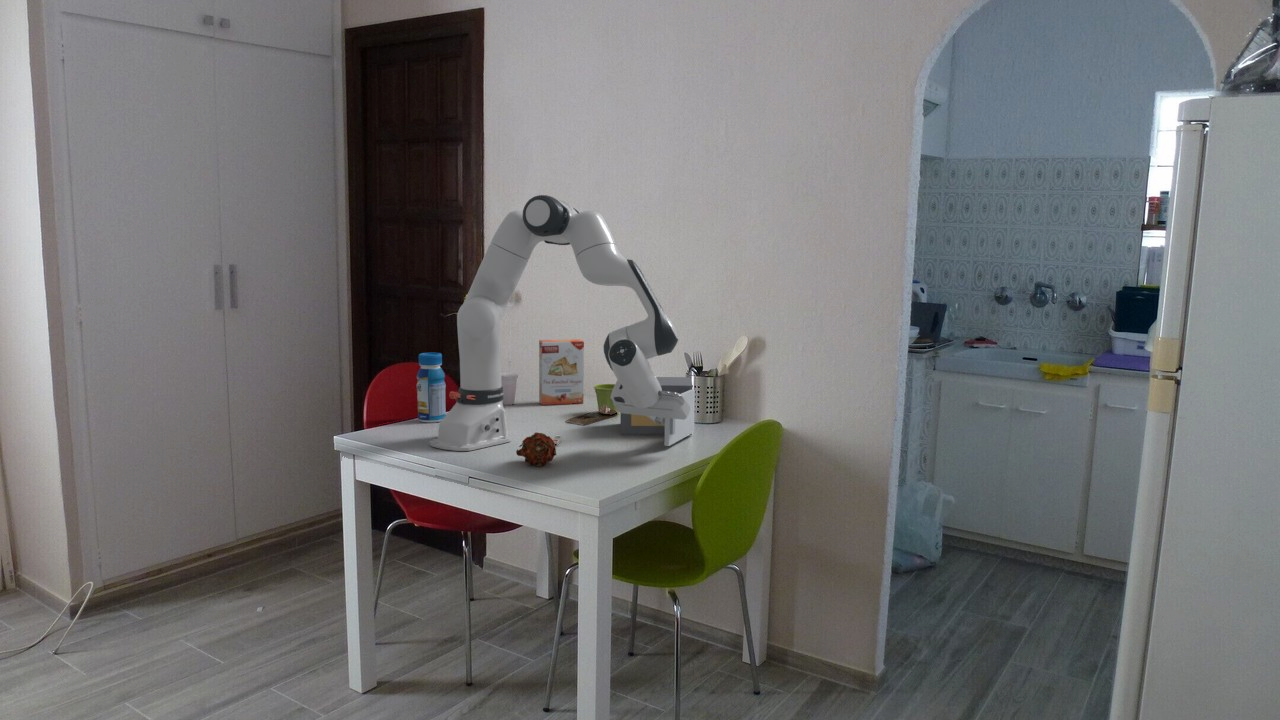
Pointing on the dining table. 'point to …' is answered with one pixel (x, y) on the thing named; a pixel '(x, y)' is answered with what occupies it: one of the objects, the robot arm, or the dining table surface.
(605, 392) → the plant pot
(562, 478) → the dining table surface
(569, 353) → the cracker box
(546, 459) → the dragon fruit
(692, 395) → the side door
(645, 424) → the gray cabinet
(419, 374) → the beverage bottle
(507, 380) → the smoothie
